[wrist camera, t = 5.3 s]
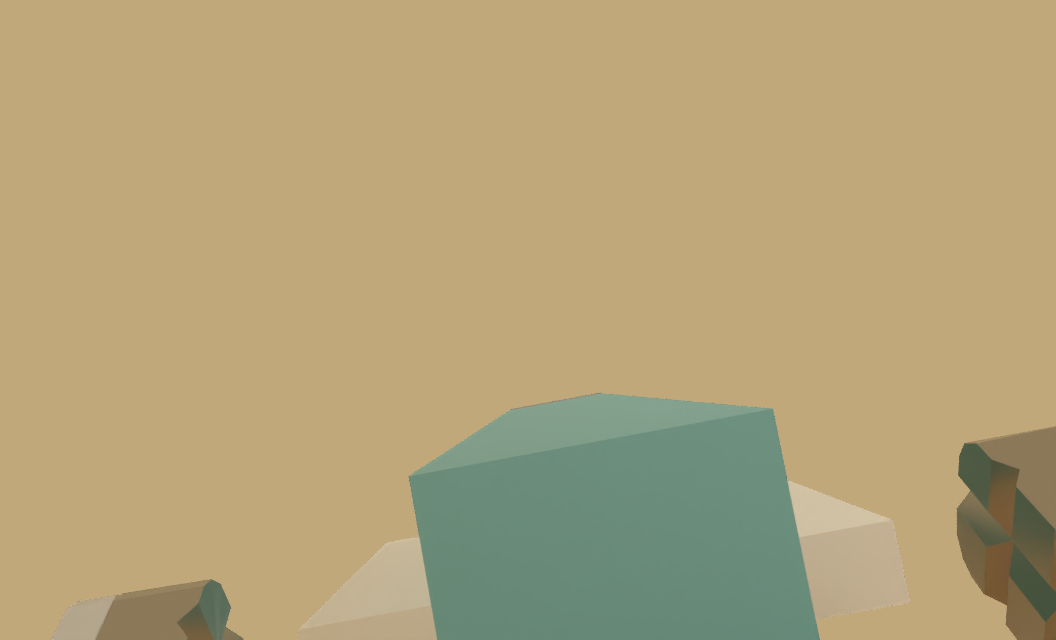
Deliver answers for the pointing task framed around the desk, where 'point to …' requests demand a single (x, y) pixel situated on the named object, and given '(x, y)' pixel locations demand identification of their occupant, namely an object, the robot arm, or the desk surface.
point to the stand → (825, 537)
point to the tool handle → (614, 526)
